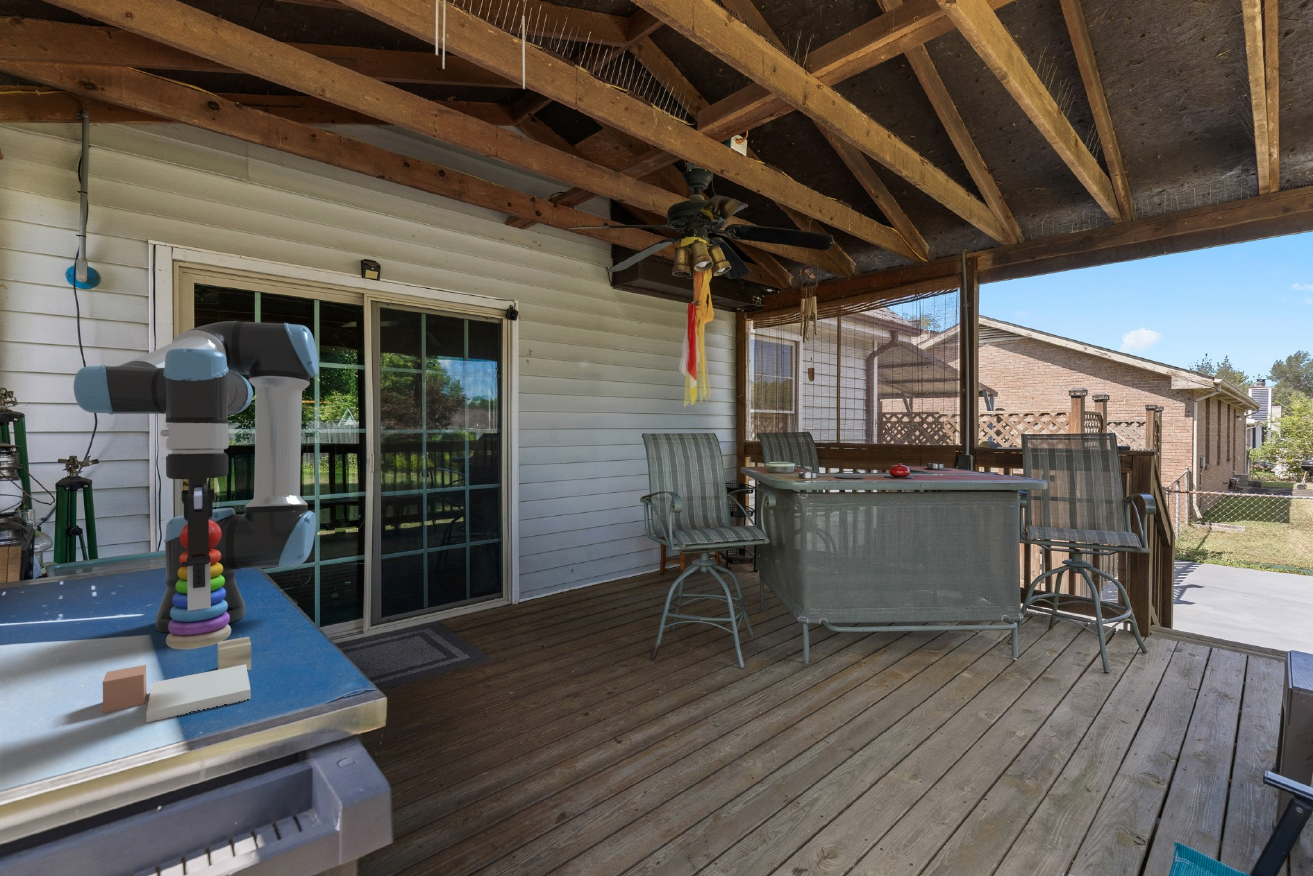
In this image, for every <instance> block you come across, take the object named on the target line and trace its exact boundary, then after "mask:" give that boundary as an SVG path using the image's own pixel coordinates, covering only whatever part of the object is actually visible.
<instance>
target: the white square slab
mask: <svg viewBox="0 0 1313 876" xmlns="http://www.w3.org/2000/svg"><path fill="white" fill-rule="evenodd" d="M248 672H249V671H247V666H246V664H245V665H240V666H235V667H229V668H224V669H219V670H218V669H214V670H211V671H204V672H201V673H200V672H199V673H194V674H189V675H185V676H178V677H175V678H170V679H169V678H168V679H164V680H159V681H154V682H152V684H151V688H150V692H149V693H150V694H149V697H148V701H147V702H148V703H147V708H146V723H152V722H155V720H156V721H160V720H164V719H168V717H169V718H172V717H177V715H178V716H182V715H186V713H187V714H190V713H189V712H191V711H196V712H198V711H197V710H200V711H204V710H203V709H205V710H208V709H207V708H209V709H213V707H214V708H217V707H216V706H218V707H221V706H222V705H223V706H225V705H224V704H227V705H230V704H231V705H232V704H235V703H239V701H240V702H244V700H245V701H248V700H247V699H249V700H252V699H251V697H252V694H251V690H252V689H251V683H250V678H249V673H248ZM191 713H192V712H191Z"/></svg>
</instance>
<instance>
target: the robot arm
mask: <svg viewBox="0 0 1313 876" xmlns="http://www.w3.org/2000/svg"><path fill="white" fill-rule="evenodd" d="M319 368H320V367H319V358H318V352H317V347H316V343H315V338H314V337H313V334H312V332H311V330H310V329H309V328H308V327H307V326H306V325H303V324H291V323H287V322H284V323H283V322H282V323H281V322H280V323H279V322H254V321H253V322H252V321H239V320H233V321H232V320H229V321H227V320H225V321H219V322H214V323H209V324H205V325H200V326H198V327H195V328H190V329H188V330H185V331H184V332H181V333H180V334H178V335H176V336H175V337H174V338H173V339H172V342H171V343H169V344H167V345H165V346H163V347H162V346H161V347H160V348H158V349H155V350H153V351H151V352H149V353H146V354H144V355H141V356H139V357H137V358H135V359H133V360H130V361H128V362H125V363H123V364H119V365H115V366H112V365H111V366H110V365H105V364H102V365H94V366H93V365H92V366H91V365H90V366H88V365H87V366H84V367H82V368H80V369H79V370H78V371H77V373H76V375H75V377H74V380H73V394H74V398H75V401H76V403H77V404H78V406H79V407H80V408H81V409H82V410H83V411H85V412H87V413H92V414H95V413H96V414H109V415H110V416H111V415H112V416H113V415H119V414H120V415H162V414H163V415H165V423H166V424H165V427H166V428H167V429H161V430H160V436H161V437H167V438H166V440H165V446H166V447H165V448H166V449H167V450H168V451H171V453H168V454H167V456H165V477H167V478H168V479H171V480H188V483H187V484H188V489H182V490H181V503H182V504H183V514H182V515H178V516H174V517H173V518H171V519H169V520H168V522H167V523H166V525H165V539H164V540H163V541H164V549H165V553H164V554H165V591H164V594H163V596H162V598H161V599H162V600H161V602H160V605H159V608H158V610H157V613H156V615H155V629H156V630H157V631H158V632H162V633H171V632H170V631H169V629H168V625H169V623H170V621H171V620H172V618H171V616H170V611H171V609H172V608H173V607H174V606H175V605H174V604H173V603H172V598H173V596H174V595H175V594H176V593H177V592H178V591H177V590H176V588H175V586H176V583H177V582H178V581H179V580H180V579H181V578H180V577H179V576H178V570H179V569H180V568H181V567H187V596H188V611H190V610H197V609H204V608H211V585H210V563H209V562H210V555H209V520H211V521H213V522H215V523H216V524H217V525H218V526H219V527H220V529H221V539H220V541H219V543H218V544H217V545H216V546H215V547H214V548H213V549H215V550H218V551H219V552H220V553H221V558H220V560H219V561H218V562H217V563H220V564H221V565H222V566H223V571H222V573H221V574H220V575H221V576H223V577H224V579H225V583H224V585H223V586H222V588H224V589H225V591H226V596H225V598H224V599H223V600H225V601H226V602H227V604H228V608H227V610H226V612H227V613H228V614H229V616H230V620H229V623H228V625H229V624H230V625H231V624H232V623H236V622H237V621H240V620H242V619H243V618H244V617H245V616H246V603H245V601H244V599H243V596H242V593H241V592H240V590H239V587H238V584H237V582H236V571H237V570H248V569H249V570H250V569H251V570H252V569H264V568H265V569H267V568H284V567H291V566H299V565H302V564H303V563H304V562H306V561H307V559H308V558H309V556H310V555H311V552H312V549H313V545H314V542H315V541H314V540H315V535H316V529H317V528H316V527H317V517H316V513H315V512H314V511H311V510H308V502H306V501H305V500H304V499H303V498H302V497H301V494H300V493H301V455H302V454H301V451H302V450H301V449H302V410H303V409H302V400H303V399H302V398H303V397H302V396H303V391H304V390H305V389H306V388H308V387H309V386H310V383H311V382H310V381H311V378H314V377H317V376H318V375H319ZM243 375H248V379H247V378H246V377H244V376H243ZM252 386H253V387H254V388H255V389H256V408H255V410H256V411H255V412H256V415H255V441H254V443H255V444H254V445H255V446H254V450H255V452H254V455H255V456H254V481H253V482H254V483H253V485H254V486H253V488H254V490H253V499H252V500H251V501H249V502H247V504H246V505H244V513H243V514H236V511H235V509H234V508H232V507H226V508H225V507H224V508H223V507H222V508H216V509H213V503H214V501H215V488H209V487H208V479H217V478H225V477H227V476H228V475H229V455H228V454H227V452H225V451H224V450H227V449H228V448H229V422H228V417H229V416H232V415H235V414H239V413H242V412H243V411H244V410H246V409H247V408H248V407H249V406H250V405H251V403H252V401H253V396H254V391H253V388H252ZM186 524H188V550H187V549H186V548H184V547H183V545H182V544H181V541H180V533H181V530H182V529H183V527H184V526H185V525H186ZM186 551H188V558H187V562H182V564H181V563H180V560H179V558H180V556H181V554H182V553H184V552H186ZM196 554H200V555H196Z"/></svg>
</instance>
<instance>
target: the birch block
mask: <svg viewBox="0 0 1313 876" xmlns="http://www.w3.org/2000/svg"><path fill="white" fill-rule="evenodd" d="M245 664H246V666H247V670H248V671H252V642H251V639H250V636H245V637H239V638H233V639H228V640H227V639H226V640H223V641H221V642H219V643H217V670H219V669H224V668H229V667H235V666H240V665H245Z"/></svg>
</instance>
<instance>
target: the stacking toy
mask: <svg viewBox="0 0 1313 876" xmlns="http://www.w3.org/2000/svg"><path fill="white" fill-rule="evenodd" d="M220 539H221V529H220V527H219V526H218V525H217V524H216V523H215V522H213V521H211V520H209V555H210V562H209V563H210V585H211V608H204V609H197V610H190V611H188V596H187V567H181V568H180V569H179V570H178V576H179V577H180V578H181V579H180V580H179V581H178V582H177V583H176V586H175V588H176V590H177V591H178V592H177V593H176V594H175V595H174V596H173V598H172V603H173V604H174V605H175V606H174V607H173V608H172V609H171V611H170V616H171V618H172V620H171V621H170V623H169V625H168V629H169V631H170V632H169V634H168V635H167V636H166V637H165V638H166V639H165V643H166V645H167V646H168V647H169V648H172V649H174V650H193V649H199V648H205V647H209V646H214V645H217V644H218V643H219V642H221V641H226V640H227V639H228V638H229V637H230V635H231V633H232V628H231V625H229V624H228V623H229V620H230V616H229V614H228V613H227V612H226V610H227V608H228V604H227V602H226V601H225V600H223V599H224V598H225V596H226V591H225V589H224V588H222V586H223V585H224V583H225V579H224V577H223V576H221V575H220V574H221V573H222V571H223V566H222V565H221V564H220V563H217V562H218V561H219V560H220V558H221V553H220V552H219V551H218V550H215V549H213V548H214V547H215V546H216V545H217V544H218V543H219V541H220ZM180 541H181V544H182V545H183V547H184V548H186V549H187V550H188V524H186V525H185V526H184V527H183V529H182V530H181V533H180ZM196 555H200V554H196ZM187 558H188V551H186V552H184V553H182V554H181V556H180V558H179V560H180V563H181V564H182V562H187Z"/></svg>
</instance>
